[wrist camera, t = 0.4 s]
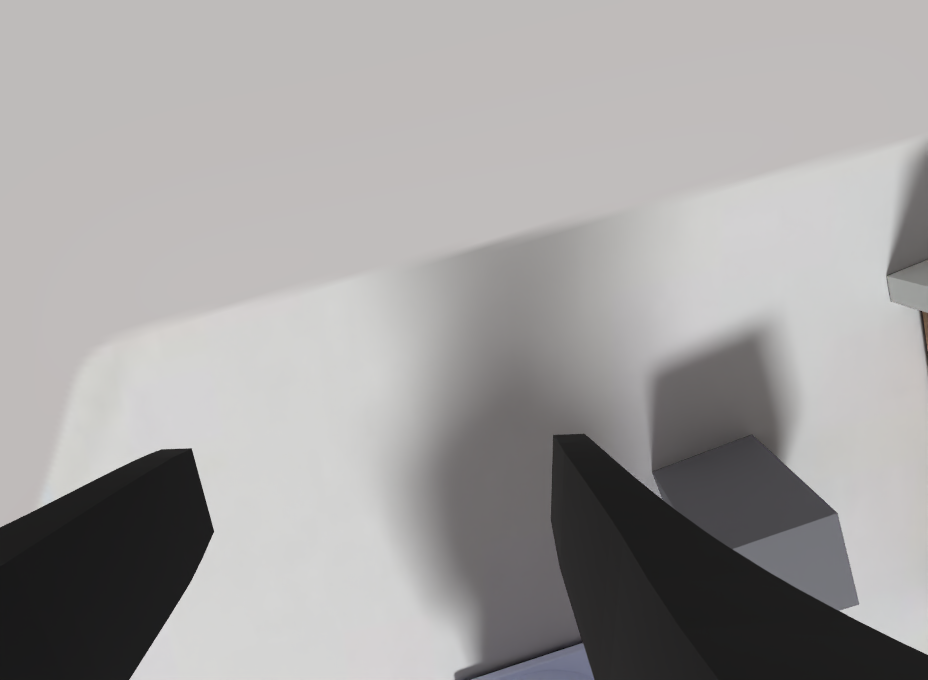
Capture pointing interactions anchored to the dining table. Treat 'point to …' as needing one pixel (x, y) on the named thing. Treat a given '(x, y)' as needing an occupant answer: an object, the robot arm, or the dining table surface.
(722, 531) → the block
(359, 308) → the dining table surface
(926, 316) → the door
